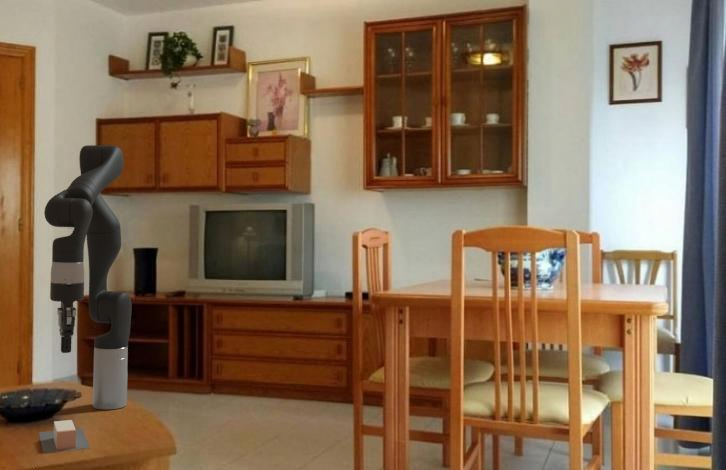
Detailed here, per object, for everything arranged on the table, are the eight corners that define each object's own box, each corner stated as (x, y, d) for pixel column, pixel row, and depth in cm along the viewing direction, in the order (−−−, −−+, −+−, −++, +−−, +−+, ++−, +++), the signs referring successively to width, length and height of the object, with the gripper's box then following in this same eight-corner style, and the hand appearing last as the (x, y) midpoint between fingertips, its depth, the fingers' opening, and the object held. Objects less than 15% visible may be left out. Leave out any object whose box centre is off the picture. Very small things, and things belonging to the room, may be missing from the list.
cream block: (54, 421, 170) (57, 432, 161) (71, 419, 172) (76, 430, 163) (53, 438, 170) (56, 449, 161) (71, 436, 172) (75, 447, 163)
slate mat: (38, 434, 175) (38, 432, 175) (81, 430, 179) (81, 428, 179) (43, 455, 159) (43, 453, 159) (90, 450, 163) (90, 448, 163)
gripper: (48, 278, 175) (47, 348, 175) (52, 283, 163) (51, 358, 163) (81, 278, 178) (79, 347, 178) (87, 282, 166) (85, 356, 167)
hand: (65, 352), depth 171 cm, fingers closed
